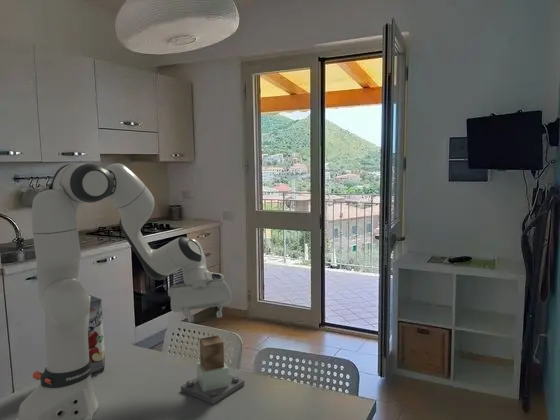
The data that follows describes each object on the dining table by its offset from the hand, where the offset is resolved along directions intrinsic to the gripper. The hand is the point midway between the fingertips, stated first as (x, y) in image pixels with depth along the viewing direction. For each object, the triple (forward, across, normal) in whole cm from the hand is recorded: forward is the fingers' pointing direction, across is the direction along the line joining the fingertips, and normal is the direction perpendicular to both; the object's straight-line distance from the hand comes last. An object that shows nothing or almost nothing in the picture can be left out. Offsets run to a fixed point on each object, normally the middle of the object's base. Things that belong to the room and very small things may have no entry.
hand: (205, 319), depth 143 cm
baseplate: (+19, 0, +10) cm, 21 cm away
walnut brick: (+14, 0, +5) cm, 14 cm away
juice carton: (-1, -36, +30) cm, 47 cm away
